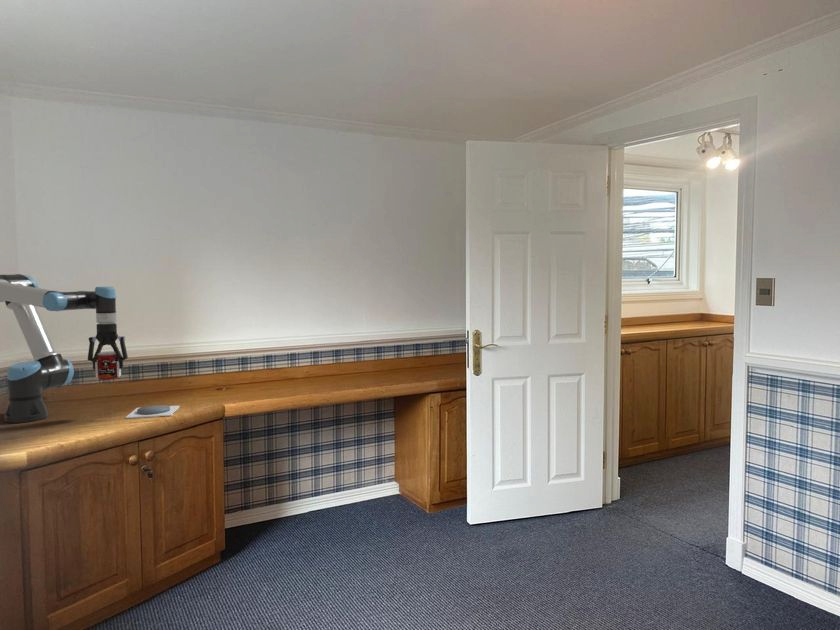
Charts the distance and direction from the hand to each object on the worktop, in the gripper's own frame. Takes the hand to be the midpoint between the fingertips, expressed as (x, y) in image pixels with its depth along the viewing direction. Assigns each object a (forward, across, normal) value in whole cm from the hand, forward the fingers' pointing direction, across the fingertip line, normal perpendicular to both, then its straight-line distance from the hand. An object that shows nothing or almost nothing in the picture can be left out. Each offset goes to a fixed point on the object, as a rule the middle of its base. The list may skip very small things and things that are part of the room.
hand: (108, 376), depth 251 cm
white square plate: (+17, +17, +1) cm, 24 cm away
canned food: (+1, 0, 0) cm, 1 cm away
